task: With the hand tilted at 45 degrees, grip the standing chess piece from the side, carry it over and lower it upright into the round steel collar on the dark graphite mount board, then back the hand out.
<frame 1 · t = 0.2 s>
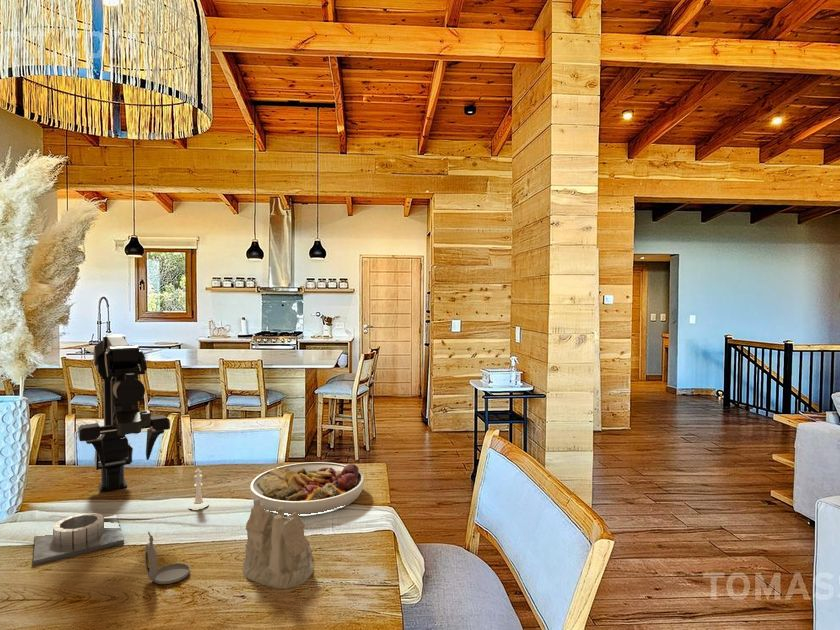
hand: (126, 463, 124), 14 cm above the table, tool pointing down, fingers open, 9 cm apart
chess piece: (198, 507, 134), on the table
lens mount: (79, 539, 116), on the table
bowl: (308, 498, 141), on the table
pocket watch: (164, 579, 100), on the table
grey brown rock formation: (284, 565, 106), on the table
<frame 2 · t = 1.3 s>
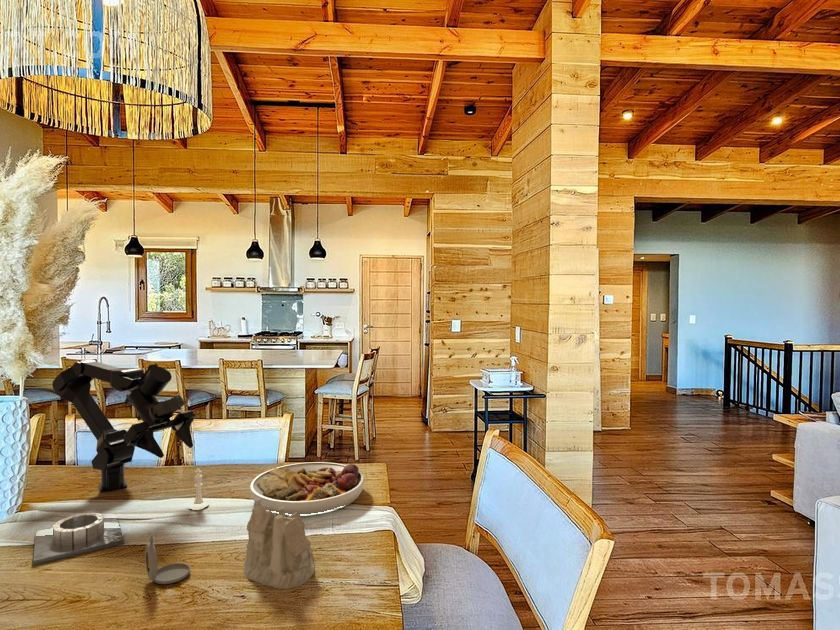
hand: (177, 451, 136), 13 cm above the table, tool tilted 45°, fingers open, 9 cm apart
nothing on the table moved.
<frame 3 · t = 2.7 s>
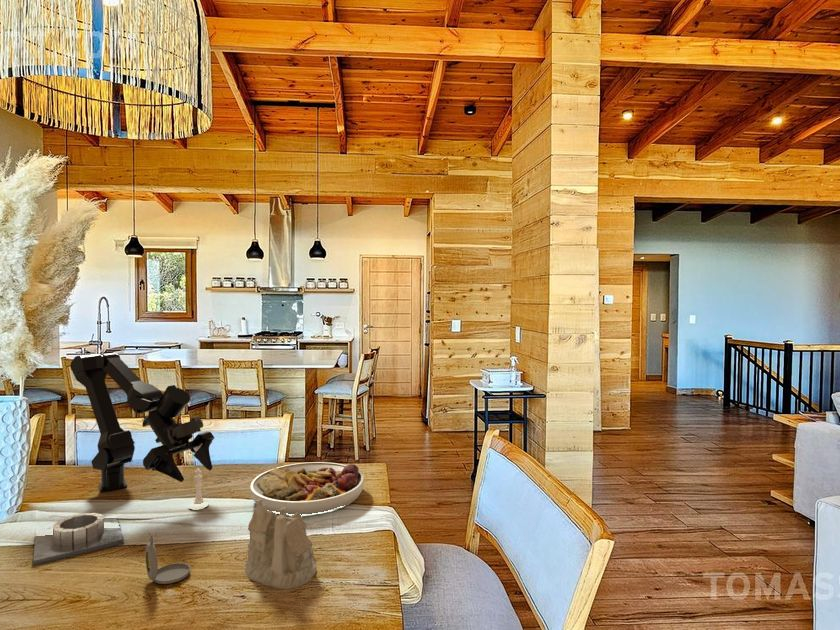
hand: (197, 475, 134), 8 cm above the table, tool tilted 45°, fingers open, 9 cm apart
nothing on the table moved.
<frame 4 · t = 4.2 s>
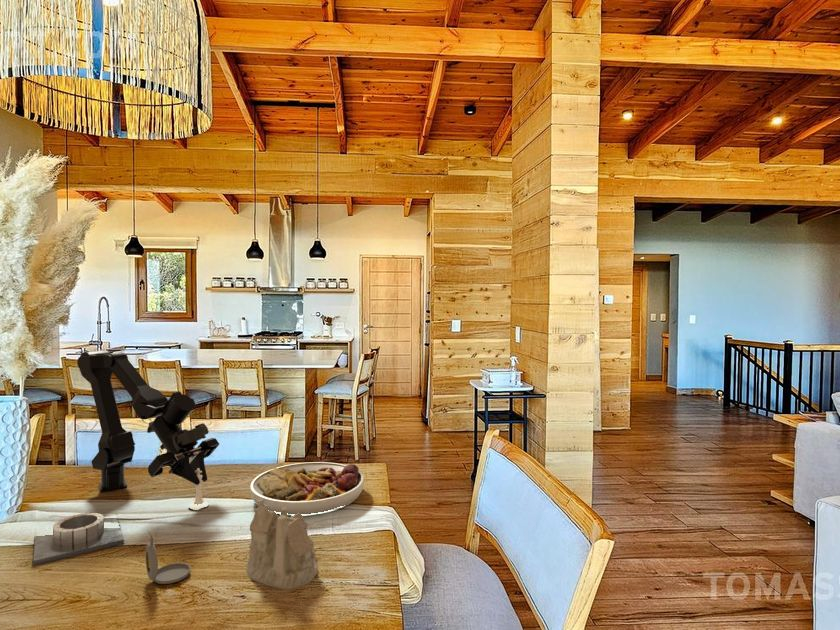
hand: (202, 482, 133), 7 cm above the table, tool tilted 45°, fingers closed on chess piece
chess piece: (198, 507, 134), on the table, touching gripper
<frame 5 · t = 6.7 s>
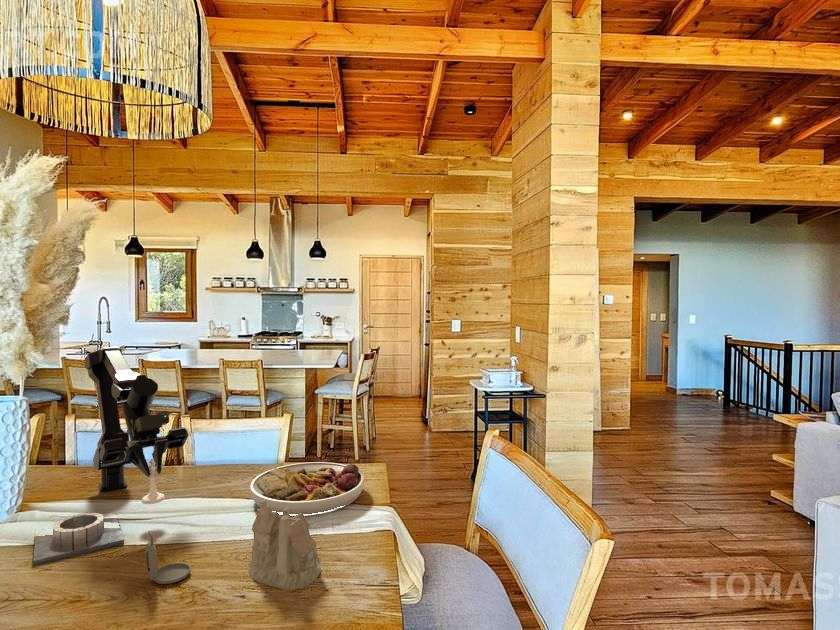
hand: (154, 474, 122), 12 cm above the table, tool tilted 45°, fingers closed on chess piece
chess piece: (153, 500, 124), point 5 cm above the table, touching gripper
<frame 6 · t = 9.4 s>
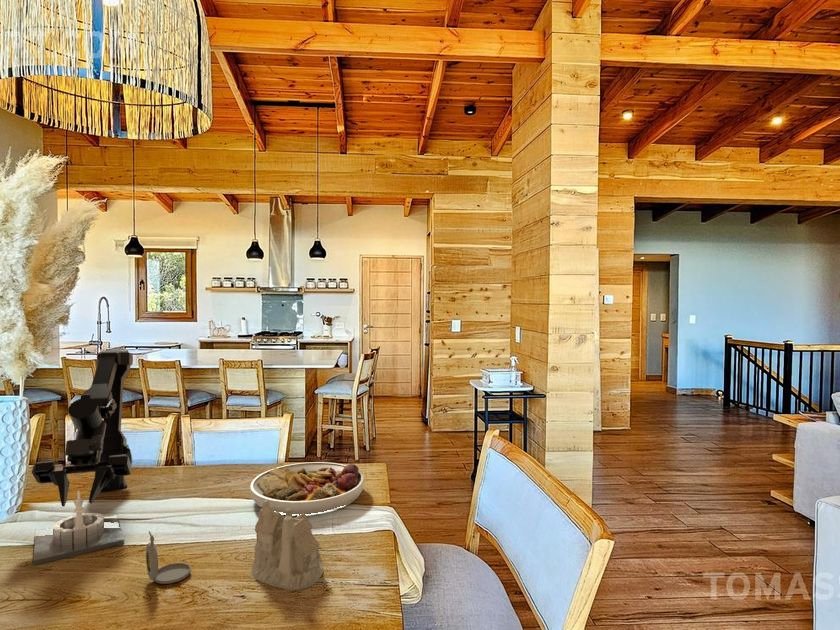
hand: (76, 504, 114), 9 cm above the table, tool tilted 45°, fingers open, 5 cm apart
chess piece: (79, 535, 116), point 1 cm above the table, touching lens mount
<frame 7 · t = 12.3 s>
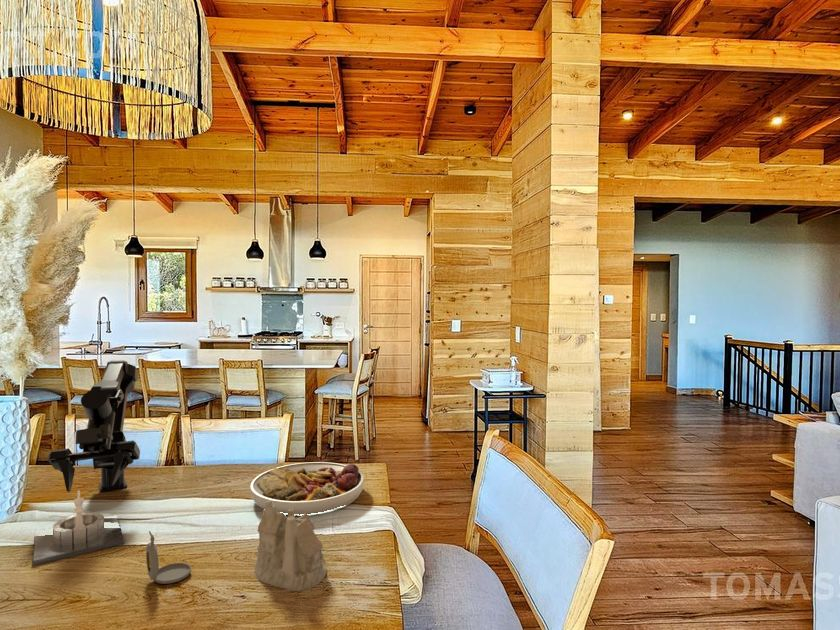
hand: (90, 488, 123), 9 cm above the table, tool tilted 45°, fingers open, 9 cm apart
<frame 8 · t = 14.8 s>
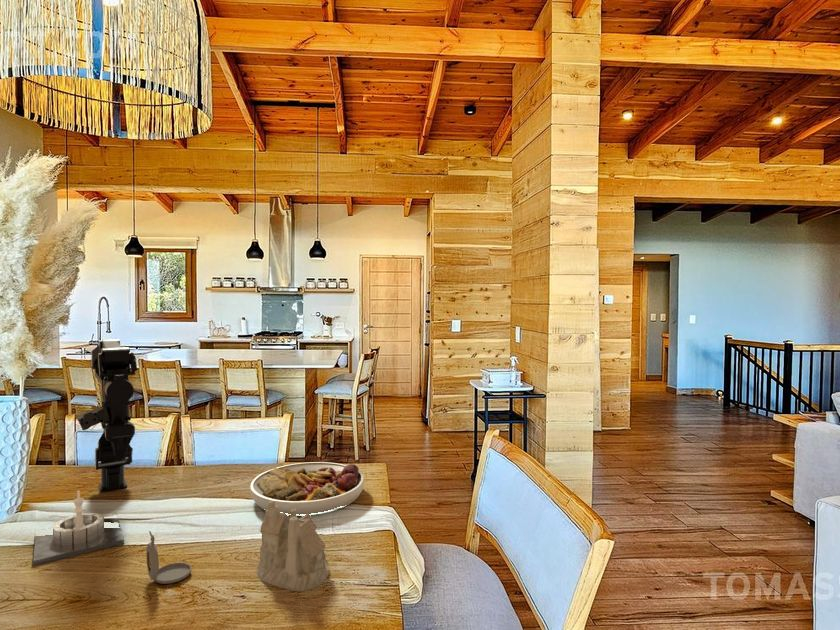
hand: (117, 456, 133), 13 cm above the table, tool pointing down, fingers open, 9 cm apart
at the end: chess piece 0.2 cm off-centre on the lens mount, point 0.8 cm above the lens mount's base; chess piece tilted 0°; the gripper is holding nothing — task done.
